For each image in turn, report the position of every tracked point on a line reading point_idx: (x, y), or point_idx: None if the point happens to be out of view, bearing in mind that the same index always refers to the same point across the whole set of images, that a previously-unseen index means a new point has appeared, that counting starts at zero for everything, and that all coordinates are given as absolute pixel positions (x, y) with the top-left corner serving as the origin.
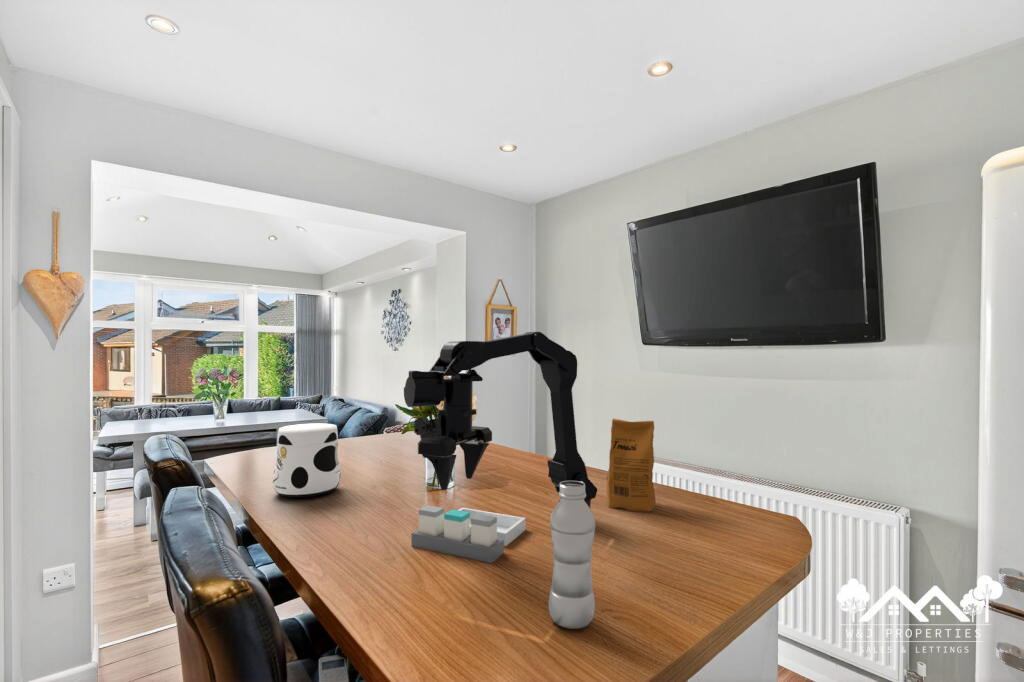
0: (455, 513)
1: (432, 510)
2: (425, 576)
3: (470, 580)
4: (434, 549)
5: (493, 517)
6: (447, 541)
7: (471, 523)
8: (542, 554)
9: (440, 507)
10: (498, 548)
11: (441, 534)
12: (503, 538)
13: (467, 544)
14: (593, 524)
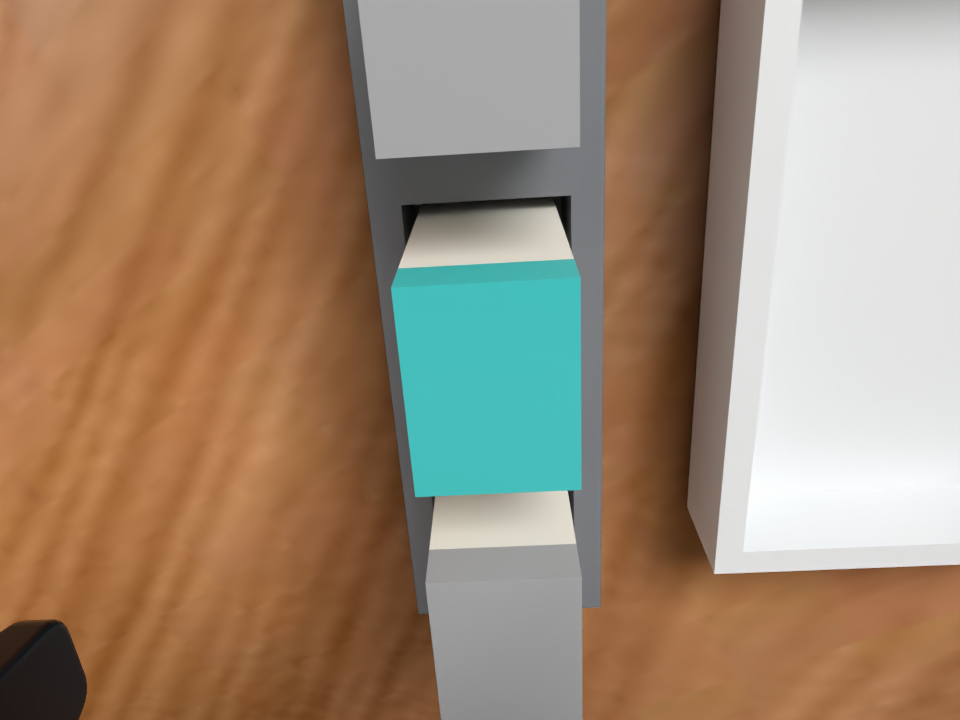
0: (473, 386)
1: (416, 66)
2: (78, 302)
3: (215, 533)
4: None
5: (553, 711)
6: (380, 279)
7: (430, 556)
8: (695, 685)
9: (579, 85)
10: None
11: (458, 155)
12: (705, 532)
13: (399, 453)
14: None
